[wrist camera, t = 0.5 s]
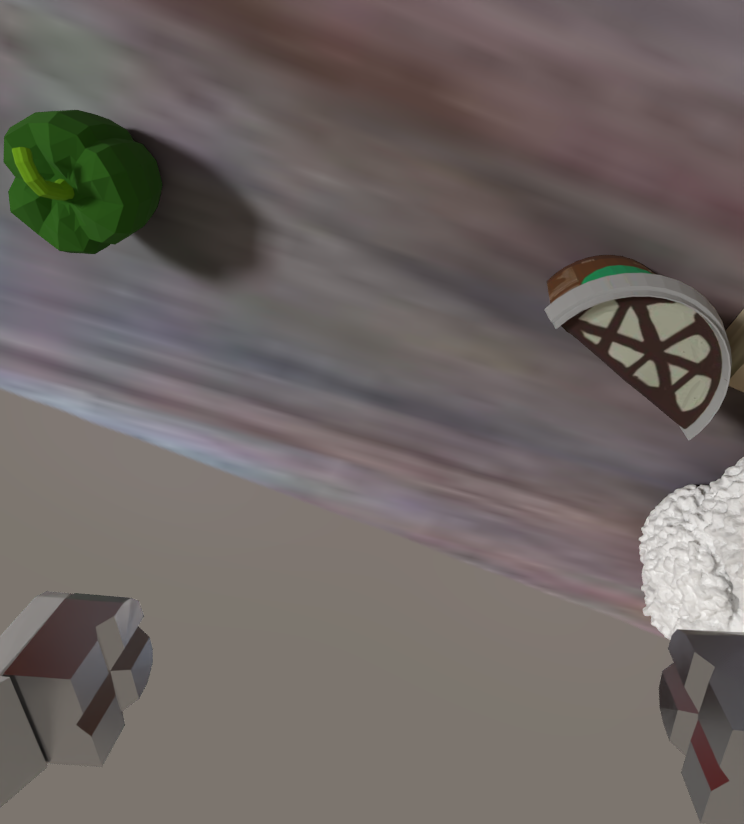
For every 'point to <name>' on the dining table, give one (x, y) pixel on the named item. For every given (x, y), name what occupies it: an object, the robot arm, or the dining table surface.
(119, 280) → the dining table surface
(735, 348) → the wooden tray
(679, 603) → the white bumpy round lump
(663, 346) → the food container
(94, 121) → the bell pepper
